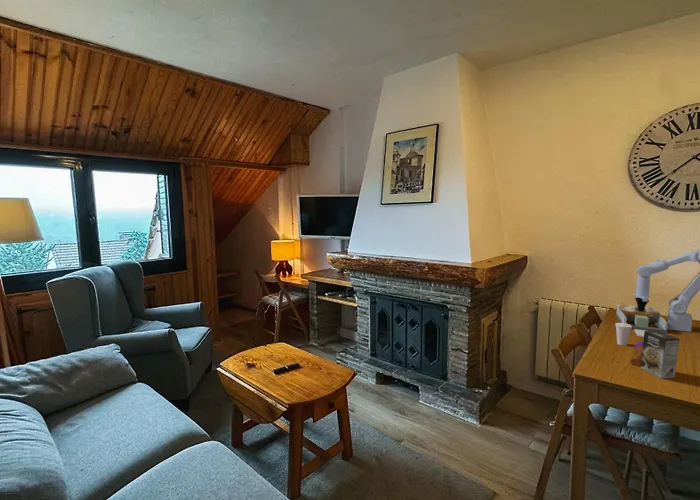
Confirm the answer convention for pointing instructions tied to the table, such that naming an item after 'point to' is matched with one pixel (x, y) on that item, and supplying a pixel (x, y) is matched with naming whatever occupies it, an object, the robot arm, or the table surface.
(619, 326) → the smoothie
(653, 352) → the grey cardboard box
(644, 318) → the block
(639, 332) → the tile
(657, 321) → the grey shallow open box
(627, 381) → the table surface
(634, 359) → the kendama
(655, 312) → the lid
